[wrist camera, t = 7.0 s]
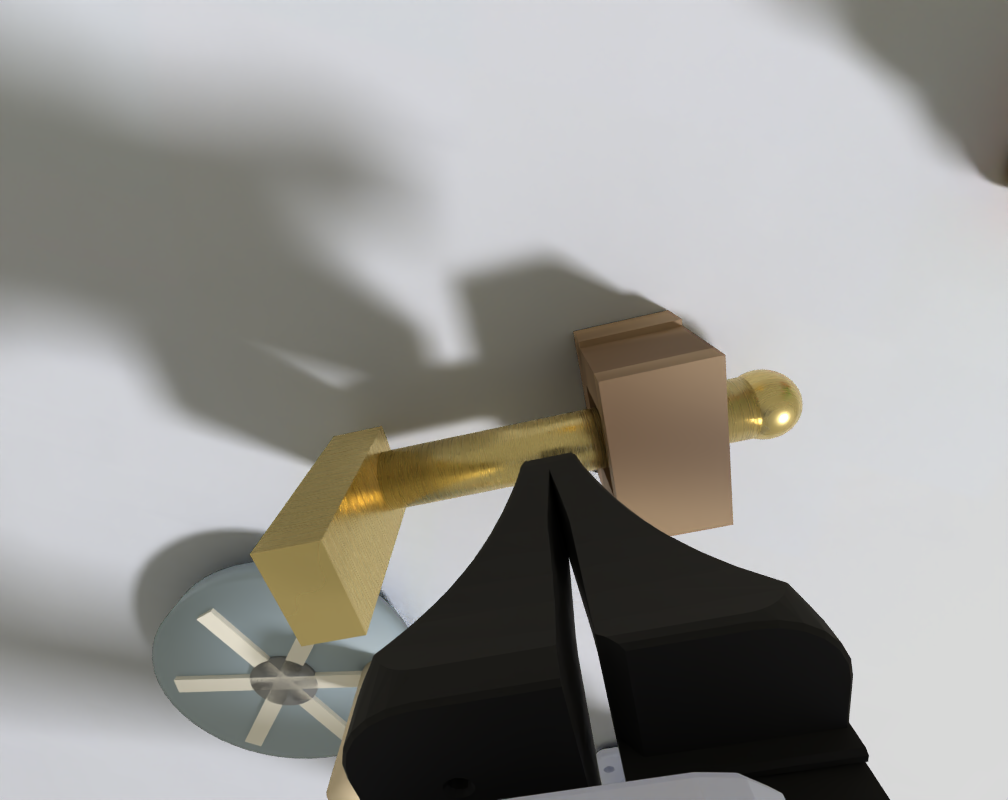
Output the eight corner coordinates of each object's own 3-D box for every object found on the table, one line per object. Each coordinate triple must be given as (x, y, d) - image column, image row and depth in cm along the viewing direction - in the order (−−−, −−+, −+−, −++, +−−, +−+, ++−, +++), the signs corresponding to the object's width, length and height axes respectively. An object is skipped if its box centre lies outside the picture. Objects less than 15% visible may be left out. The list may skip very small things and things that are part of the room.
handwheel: (209, 737, 21) (128, 885, 17) (133, 565, 17) (0, 696, 13) (429, 731, 21) (409, 878, 17) (402, 556, 17) (367, 685, 13)
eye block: (681, 457, 17) (733, 530, 13) (598, 474, 17) (625, 550, 13) (668, 310, 15) (725, 346, 11) (573, 331, 15) (596, 374, 11)
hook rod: (777, 424, 15) (918, 537, 10) (363, 507, 16) (301, 646, 11) (777, 341, 14) (935, 420, 9) (333, 436, 15) (249, 554, 10)
